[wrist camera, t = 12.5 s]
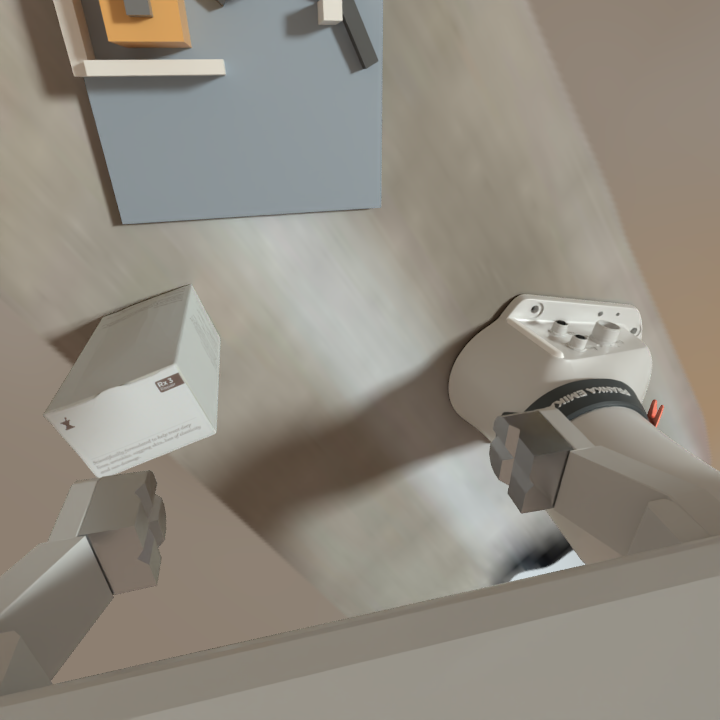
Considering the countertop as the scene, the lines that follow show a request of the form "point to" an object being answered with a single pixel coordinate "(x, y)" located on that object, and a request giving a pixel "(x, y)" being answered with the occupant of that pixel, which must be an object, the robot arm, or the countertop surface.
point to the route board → (238, 108)
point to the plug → (146, 23)
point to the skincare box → (141, 384)
